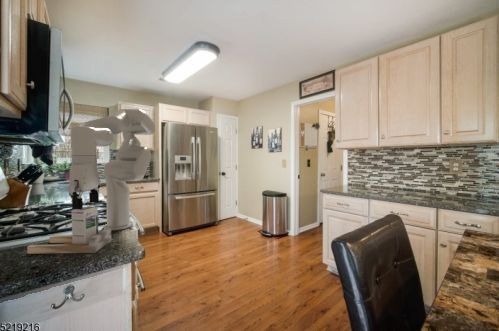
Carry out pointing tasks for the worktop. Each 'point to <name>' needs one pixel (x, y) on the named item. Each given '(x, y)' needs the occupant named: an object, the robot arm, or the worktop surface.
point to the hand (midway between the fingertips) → (86, 205)
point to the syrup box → (84, 224)
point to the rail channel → (72, 244)
